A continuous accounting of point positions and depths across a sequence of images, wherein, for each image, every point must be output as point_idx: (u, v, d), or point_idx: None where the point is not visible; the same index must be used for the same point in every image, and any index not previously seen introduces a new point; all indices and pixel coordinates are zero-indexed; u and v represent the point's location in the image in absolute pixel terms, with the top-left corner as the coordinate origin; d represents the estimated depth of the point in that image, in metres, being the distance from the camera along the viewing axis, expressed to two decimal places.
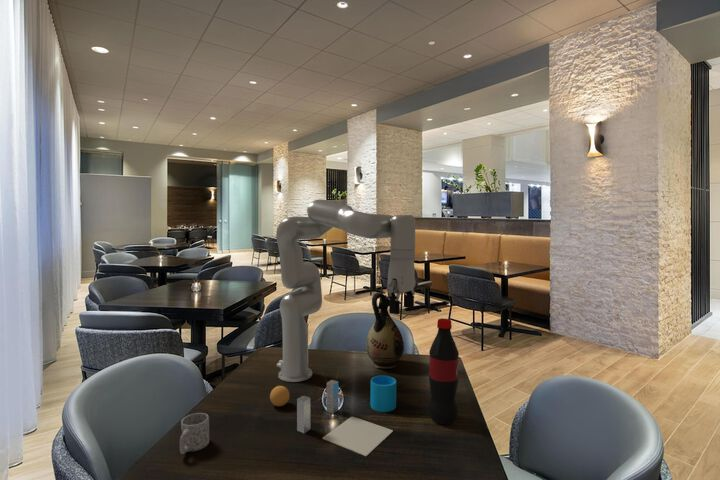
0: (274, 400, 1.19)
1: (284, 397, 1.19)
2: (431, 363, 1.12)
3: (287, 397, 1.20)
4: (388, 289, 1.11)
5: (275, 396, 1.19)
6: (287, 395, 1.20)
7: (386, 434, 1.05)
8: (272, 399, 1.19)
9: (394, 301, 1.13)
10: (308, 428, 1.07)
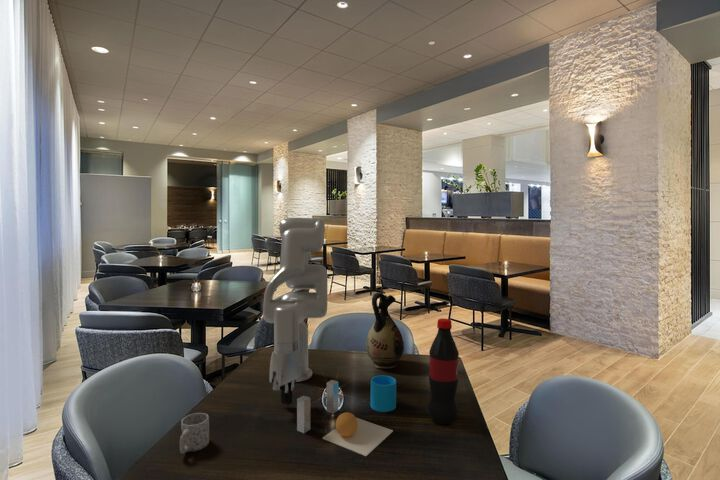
0: (337, 429, 1.03)
1: None
2: (431, 363, 1.12)
3: None
4: (274, 389, 1.16)
5: (339, 433, 1.03)
6: None
7: (386, 434, 1.05)
8: (339, 428, 1.02)
9: (284, 393, 1.18)
10: (308, 428, 1.07)
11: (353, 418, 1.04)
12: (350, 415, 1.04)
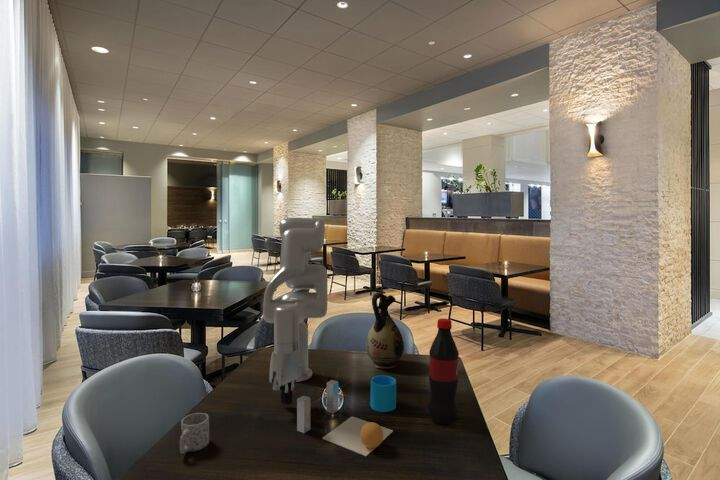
0: (367, 438, 0.97)
1: (376, 429, 0.98)
2: (431, 363, 1.12)
3: (378, 428, 0.99)
4: (274, 389, 1.16)
5: (366, 433, 0.97)
6: (378, 426, 0.99)
7: (386, 434, 1.05)
8: (365, 440, 0.97)
9: (284, 393, 1.18)
10: (308, 428, 1.07)
11: None
12: None
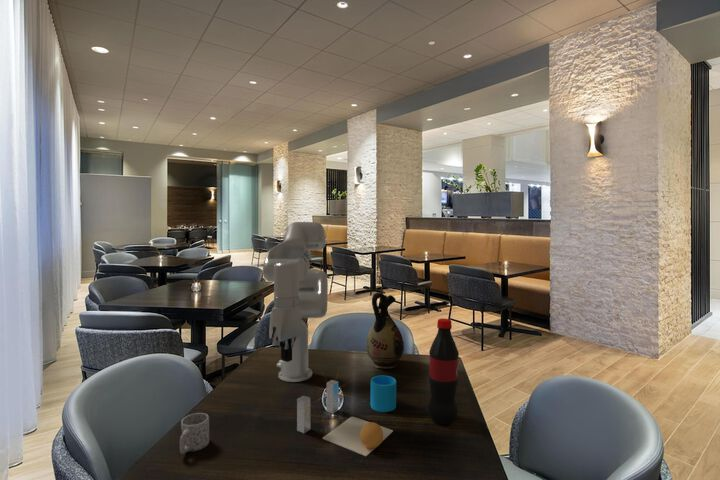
0: (367, 438, 0.97)
1: (376, 429, 0.98)
2: (431, 363, 1.12)
3: (378, 428, 0.99)
4: None
5: (366, 433, 0.97)
6: (378, 426, 0.99)
7: (386, 434, 1.05)
8: (365, 440, 0.97)
9: (284, 349, 1.17)
10: (308, 428, 1.07)
11: None
12: None
